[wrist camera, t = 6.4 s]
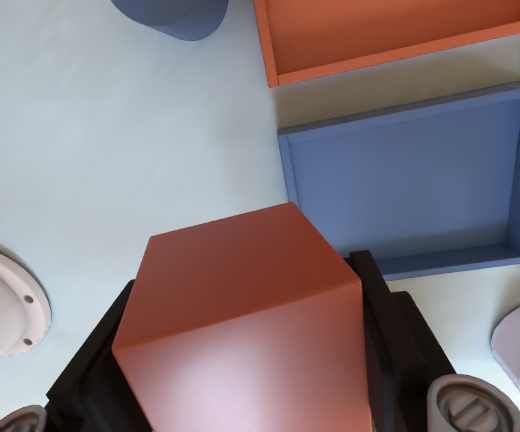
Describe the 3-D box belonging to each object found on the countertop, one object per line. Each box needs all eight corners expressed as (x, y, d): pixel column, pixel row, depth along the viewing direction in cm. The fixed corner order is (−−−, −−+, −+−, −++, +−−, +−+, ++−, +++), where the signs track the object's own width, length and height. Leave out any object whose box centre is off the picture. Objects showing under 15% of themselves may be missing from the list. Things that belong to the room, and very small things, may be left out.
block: (190, 346, 12) (185, 497, 8) (149, 235, 10) (108, 350, 6) (310, 312, 13) (373, 435, 8) (293, 200, 11) (363, 278, 6)
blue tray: (302, 273, 26) (305, 292, 24) (277, 129, 22) (277, 135, 19) (507, 245, 24) (531, 262, 22) (530, 78, 19) (563, 79, 17)
